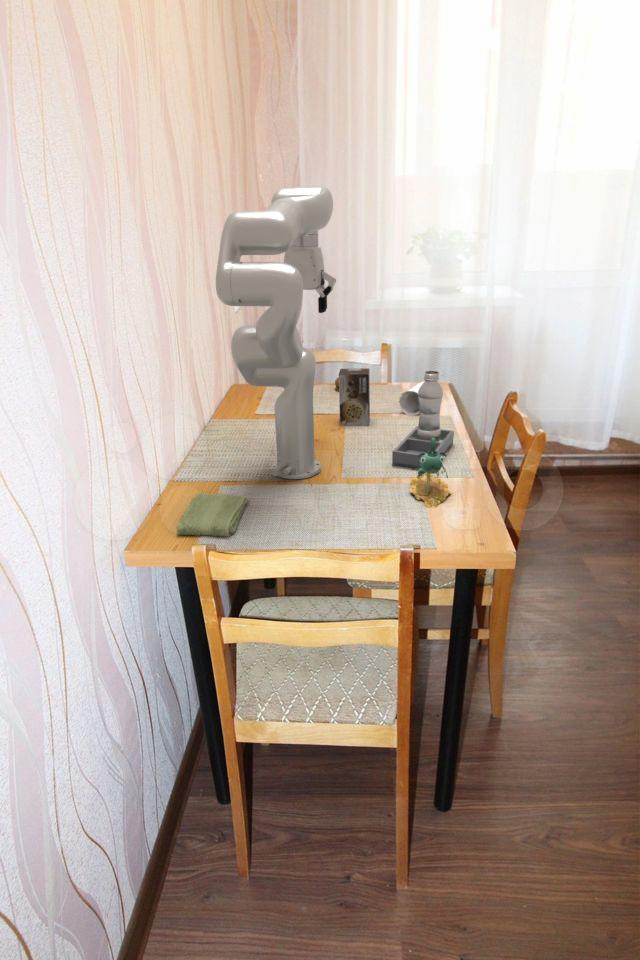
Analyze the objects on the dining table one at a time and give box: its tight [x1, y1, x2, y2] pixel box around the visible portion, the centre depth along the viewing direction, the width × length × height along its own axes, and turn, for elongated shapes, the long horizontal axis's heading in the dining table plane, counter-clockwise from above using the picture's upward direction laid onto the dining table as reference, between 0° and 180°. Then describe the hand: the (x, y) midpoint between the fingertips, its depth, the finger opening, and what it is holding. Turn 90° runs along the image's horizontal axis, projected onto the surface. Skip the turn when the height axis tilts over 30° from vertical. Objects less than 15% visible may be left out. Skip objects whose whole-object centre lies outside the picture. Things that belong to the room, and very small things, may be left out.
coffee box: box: [338, 368, 371, 427], centre depth 194 cm, size 9×6×16 cm
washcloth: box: [176, 492, 249, 538], centre depth 142 cm, size 13×18×3 cm
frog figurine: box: [409, 438, 452, 509], centre depth 150 cm, size 10×18×15 cm, turn 173°
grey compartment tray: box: [391, 425, 455, 471], centre depth 172 cm, size 20×11×4 cm, turn 155°
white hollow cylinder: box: [397, 380, 425, 416], centre depth 208 cm, size 8×19×8 cm, turn 150°
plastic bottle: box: [416, 370, 444, 442], centre depth 173 cm, size 6×7×20 cm
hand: (305, 311), depth 169 cm, fingers open, 9 cm apart
